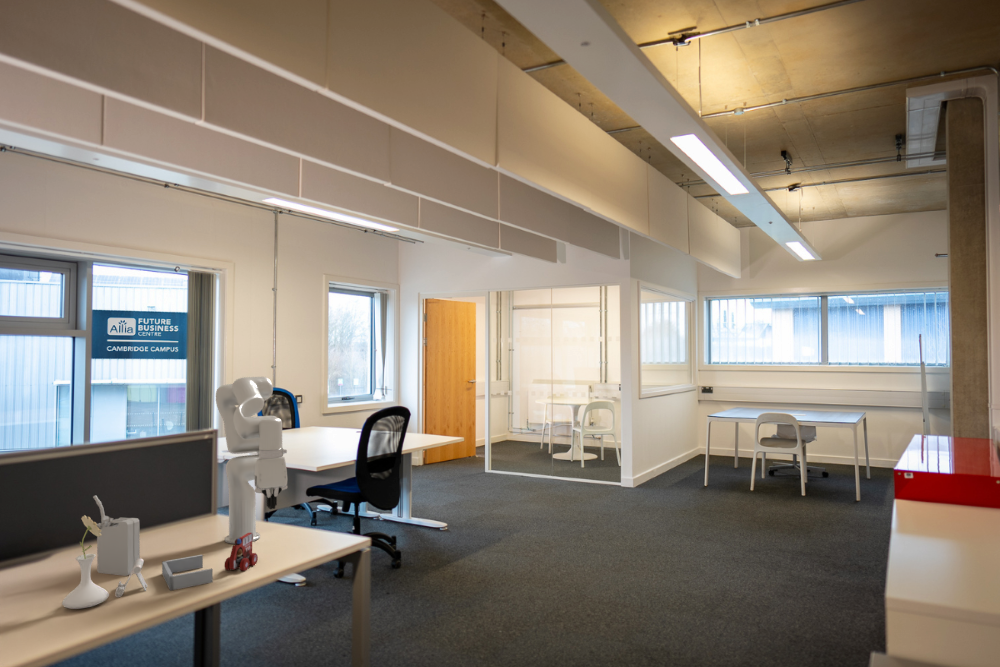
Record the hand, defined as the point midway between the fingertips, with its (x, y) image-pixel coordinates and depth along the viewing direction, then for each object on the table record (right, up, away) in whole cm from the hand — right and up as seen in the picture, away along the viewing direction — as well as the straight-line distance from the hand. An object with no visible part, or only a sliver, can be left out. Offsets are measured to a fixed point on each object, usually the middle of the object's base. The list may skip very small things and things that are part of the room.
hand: (271, 508), depth 225 cm
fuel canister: (-49, -19, -8) cm, 53 cm away
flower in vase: (-41, -19, -35) cm, 57 cm away
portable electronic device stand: (-34, -19, -25) cm, 46 cm away
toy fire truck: (-8, -19, -6) cm, 21 cm away
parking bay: (-21, -18, -15) cm, 32 cm away
